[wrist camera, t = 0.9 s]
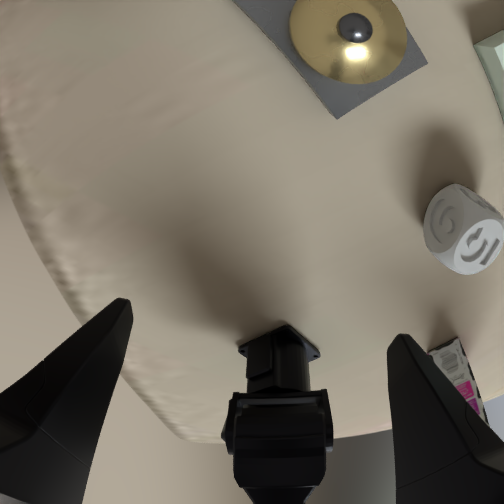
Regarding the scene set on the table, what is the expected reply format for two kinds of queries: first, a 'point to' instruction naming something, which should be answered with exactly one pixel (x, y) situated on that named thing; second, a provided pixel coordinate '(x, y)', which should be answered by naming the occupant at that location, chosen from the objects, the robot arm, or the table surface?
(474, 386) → the candy bar box
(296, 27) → the call bell
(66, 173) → the table surface
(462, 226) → the die
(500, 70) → the tray
